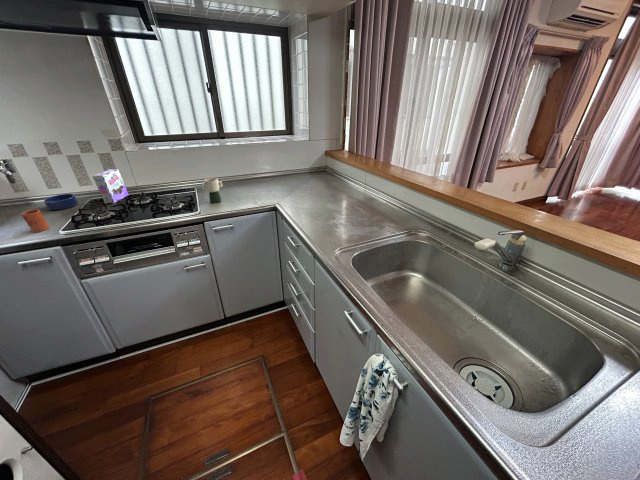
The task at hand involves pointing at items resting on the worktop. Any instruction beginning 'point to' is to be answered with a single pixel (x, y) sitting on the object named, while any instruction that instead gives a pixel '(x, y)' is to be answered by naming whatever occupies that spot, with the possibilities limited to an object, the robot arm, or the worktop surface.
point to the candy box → (111, 186)
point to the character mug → (213, 188)
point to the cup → (35, 220)
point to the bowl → (60, 202)
